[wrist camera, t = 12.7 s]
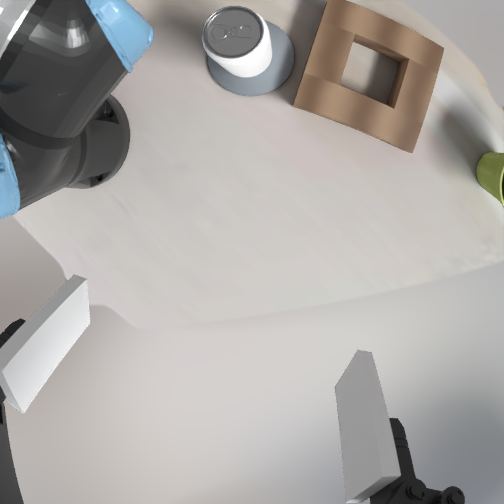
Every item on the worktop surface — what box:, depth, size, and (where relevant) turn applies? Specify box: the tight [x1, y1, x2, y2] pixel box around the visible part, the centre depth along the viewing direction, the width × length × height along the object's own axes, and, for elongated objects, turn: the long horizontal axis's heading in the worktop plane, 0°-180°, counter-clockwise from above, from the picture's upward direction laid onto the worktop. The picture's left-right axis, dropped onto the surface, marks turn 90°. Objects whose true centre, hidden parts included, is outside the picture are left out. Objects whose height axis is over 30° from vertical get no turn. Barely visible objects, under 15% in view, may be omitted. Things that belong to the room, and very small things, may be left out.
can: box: [202, 6, 272, 78], centre depth 28 cm, size 6×6×12 cm
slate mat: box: [208, 21, 294, 96], centre depth 33 cm, size 11×11×1 cm
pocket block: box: [293, 0, 444, 153], centre depth 31 cm, size 16×16×4 cm
